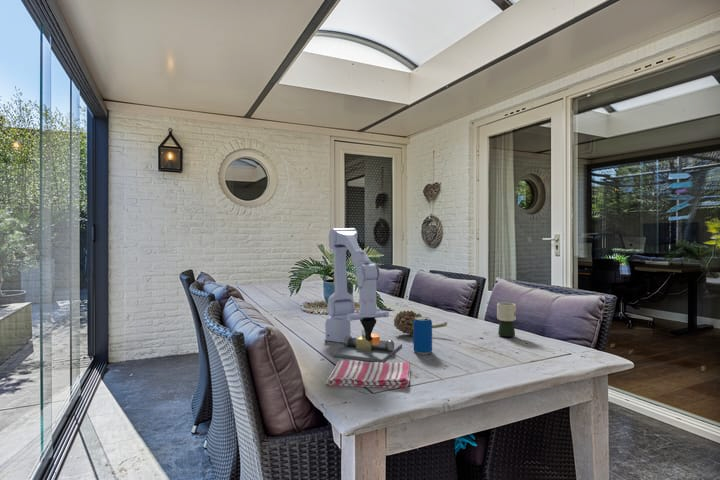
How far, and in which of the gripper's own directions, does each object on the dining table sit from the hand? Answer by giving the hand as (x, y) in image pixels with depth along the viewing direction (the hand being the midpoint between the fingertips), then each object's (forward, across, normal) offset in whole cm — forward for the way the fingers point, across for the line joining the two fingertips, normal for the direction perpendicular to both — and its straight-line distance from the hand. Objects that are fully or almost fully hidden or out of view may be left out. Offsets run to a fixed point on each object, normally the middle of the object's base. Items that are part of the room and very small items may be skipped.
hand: (368, 340), depth 139 cm
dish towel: (+7, -7, -16) cm, 19 cm away
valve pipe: (+6, +3, +7) cm, 10 cm away
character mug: (+6, +61, +2) cm, 62 cm away
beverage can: (+6, +20, -2) cm, 21 cm away
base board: (+6, +3, +7) cm, 10 cm away
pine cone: (+6, +31, +18) cm, 37 cm away
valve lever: (+1, +2, +3) cm, 4 cm away
